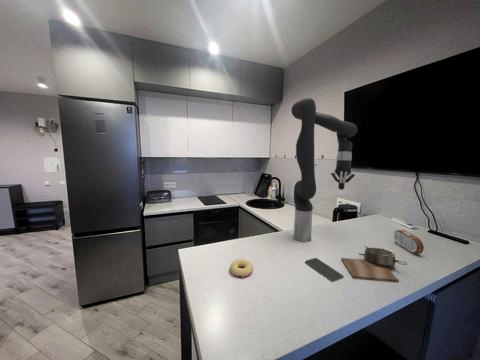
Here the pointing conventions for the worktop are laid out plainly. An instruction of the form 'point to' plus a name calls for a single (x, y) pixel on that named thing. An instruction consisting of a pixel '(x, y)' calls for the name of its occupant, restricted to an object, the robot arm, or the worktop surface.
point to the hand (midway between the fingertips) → (341, 189)
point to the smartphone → (324, 269)
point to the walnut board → (368, 270)
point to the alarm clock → (380, 256)
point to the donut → (241, 271)
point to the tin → (408, 241)
